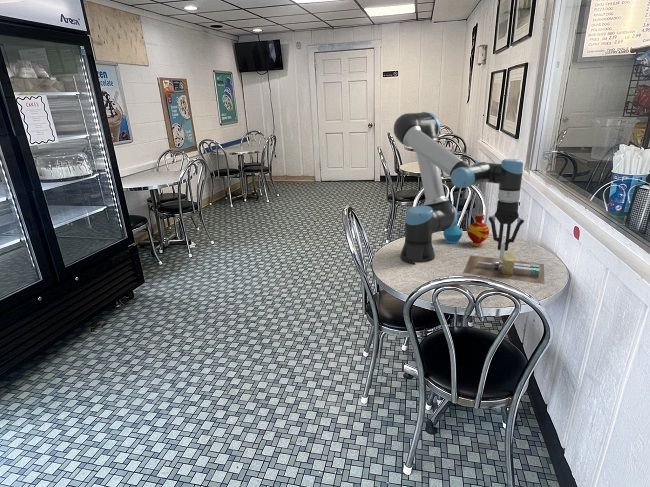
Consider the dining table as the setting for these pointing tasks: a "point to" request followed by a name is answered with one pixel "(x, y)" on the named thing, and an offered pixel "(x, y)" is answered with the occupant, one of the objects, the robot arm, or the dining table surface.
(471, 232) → the red yellow vase
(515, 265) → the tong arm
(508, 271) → the translucent yellow block
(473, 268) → the walnut board
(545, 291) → the dining table surface
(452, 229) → the blue vase
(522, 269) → the tongs fixed arm
